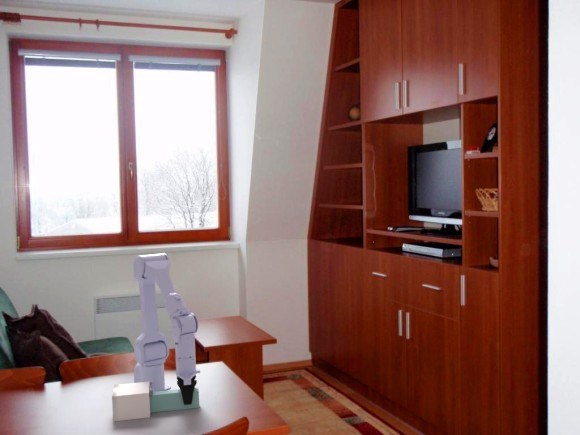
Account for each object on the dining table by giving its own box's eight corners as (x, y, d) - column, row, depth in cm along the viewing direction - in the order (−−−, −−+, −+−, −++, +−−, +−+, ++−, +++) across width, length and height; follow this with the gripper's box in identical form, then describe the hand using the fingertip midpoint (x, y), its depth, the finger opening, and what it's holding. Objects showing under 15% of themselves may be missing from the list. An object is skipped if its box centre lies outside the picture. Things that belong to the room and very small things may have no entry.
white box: (113, 421, 176) (111, 396, 176) (115, 408, 187) (114, 384, 187) (153, 417, 178) (152, 392, 178) (153, 404, 189) (152, 381, 189)
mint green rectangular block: (143, 413, 182) (142, 396, 181) (143, 409, 185) (142, 392, 184) (199, 407, 185) (198, 390, 184) (198, 404, 188) (198, 387, 187)
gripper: (200, 361, 179) (203, 409, 179) (198, 349, 193) (200, 393, 193) (175, 363, 177) (177, 411, 178) (174, 351, 191) (176, 395, 192)
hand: (187, 402), depth 185 cm, fingers closed on mint green rectangular block, 3 cm apart
